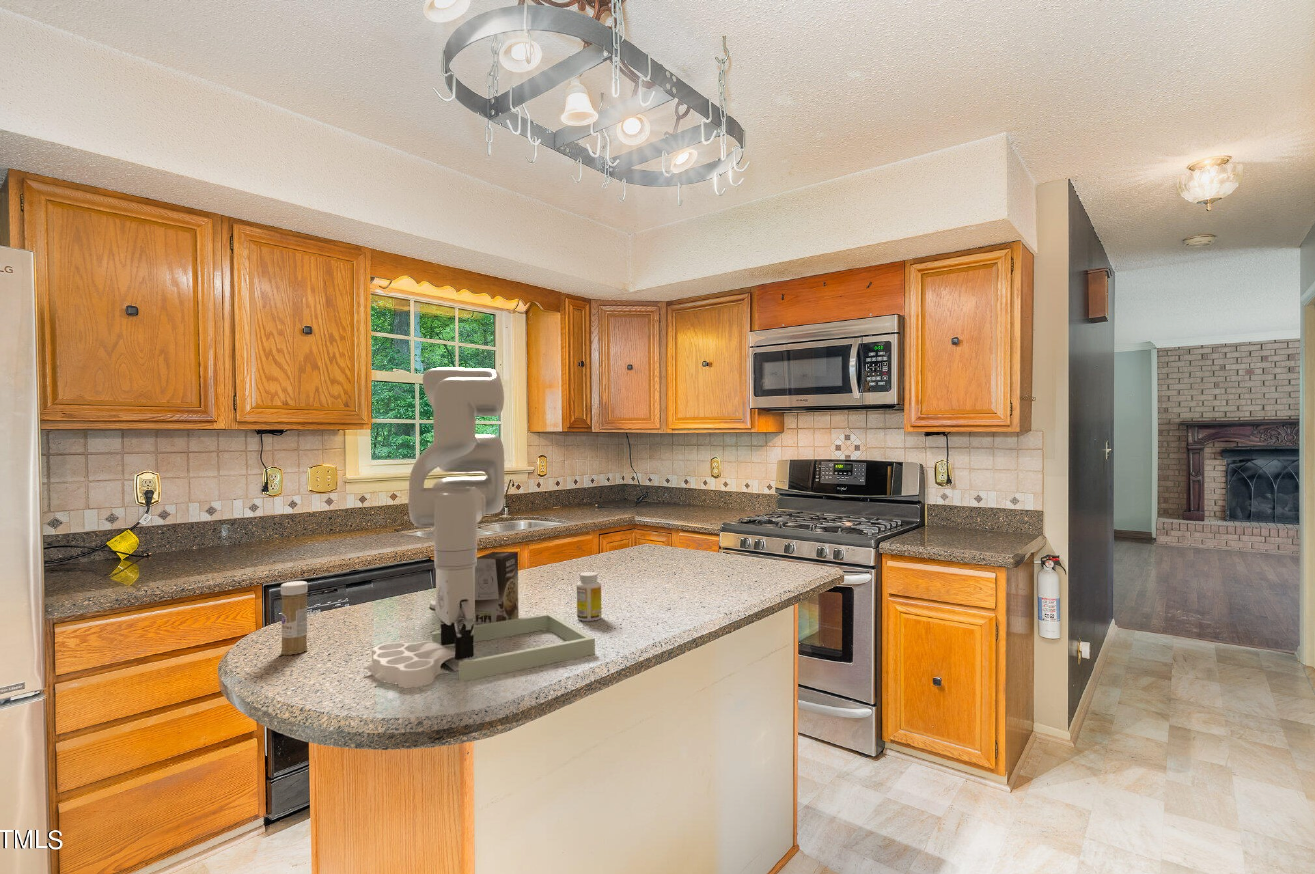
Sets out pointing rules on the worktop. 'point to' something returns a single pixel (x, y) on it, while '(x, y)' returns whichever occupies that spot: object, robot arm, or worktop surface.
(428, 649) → the white brass knuckles
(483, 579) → the coffee box
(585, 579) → the supplement bottle
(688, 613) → the worktop surface
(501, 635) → the green rectangular frame
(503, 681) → the worktop surface
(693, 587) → the worktop surface
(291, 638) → the sprinkles bottle
